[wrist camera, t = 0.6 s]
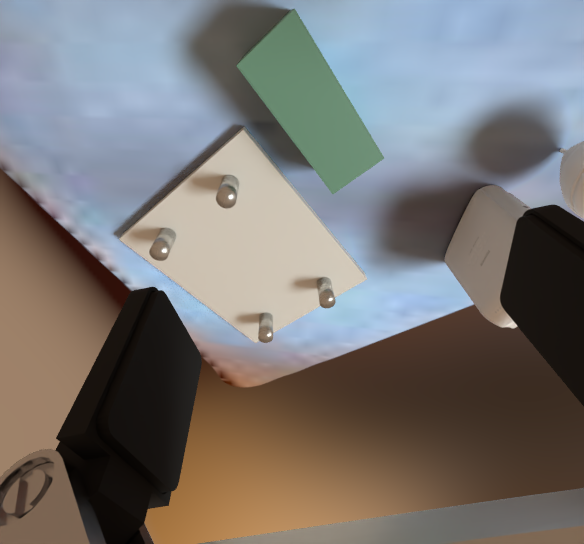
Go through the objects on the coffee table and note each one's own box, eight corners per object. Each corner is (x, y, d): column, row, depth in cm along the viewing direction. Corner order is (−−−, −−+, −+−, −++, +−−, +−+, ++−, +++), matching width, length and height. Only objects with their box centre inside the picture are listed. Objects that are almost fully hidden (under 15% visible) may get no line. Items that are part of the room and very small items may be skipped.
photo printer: (475, 181, 35) (553, 246, 25) (513, 185, 35) (604, 250, 26) (437, 261, 41) (488, 338, 31) (469, 263, 42) (530, 340, 32)
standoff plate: (244, 126, 31) (240, 141, 27) (365, 273, 42) (373, 298, 38) (123, 233, 37) (105, 258, 33) (255, 336, 48) (254, 363, 44)
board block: (290, 9, 26) (294, 8, 21) (367, 136, 32) (384, 158, 27) (242, 56, 28) (236, 65, 23) (324, 169, 34) (332, 194, 29)
